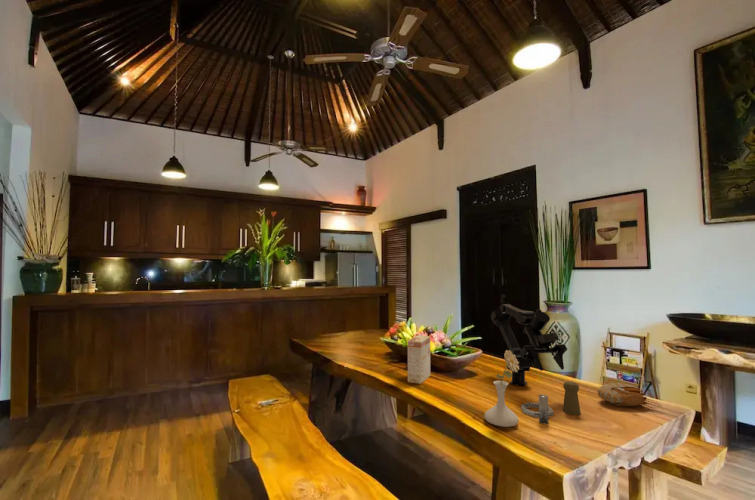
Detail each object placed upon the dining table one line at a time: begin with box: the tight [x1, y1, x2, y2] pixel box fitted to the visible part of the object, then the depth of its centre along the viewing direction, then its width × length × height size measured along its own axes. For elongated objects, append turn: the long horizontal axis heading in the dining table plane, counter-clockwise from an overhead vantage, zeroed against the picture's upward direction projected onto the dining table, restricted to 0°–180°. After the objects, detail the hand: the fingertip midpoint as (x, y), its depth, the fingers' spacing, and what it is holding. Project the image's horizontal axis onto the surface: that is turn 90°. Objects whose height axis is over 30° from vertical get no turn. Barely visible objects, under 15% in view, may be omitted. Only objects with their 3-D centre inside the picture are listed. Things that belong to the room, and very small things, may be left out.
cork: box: [562, 380, 582, 416], centre depth 137 cm, size 6×6×11 cm
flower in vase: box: [483, 349, 520, 428], centre depth 127 cm, size 13×11×25 cm
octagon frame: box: [520, 394, 554, 425], centre depth 134 cm, size 16×10×9 cm, turn 170°
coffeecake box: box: [407, 334, 431, 385], centre depth 176 cm, size 15×7×20 cm, turn 154°
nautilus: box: [596, 382, 664, 411], centre depth 142 cm, size 8×22×15 cm
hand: (552, 369), depth 145 cm, fingers open, 9 cm apart
